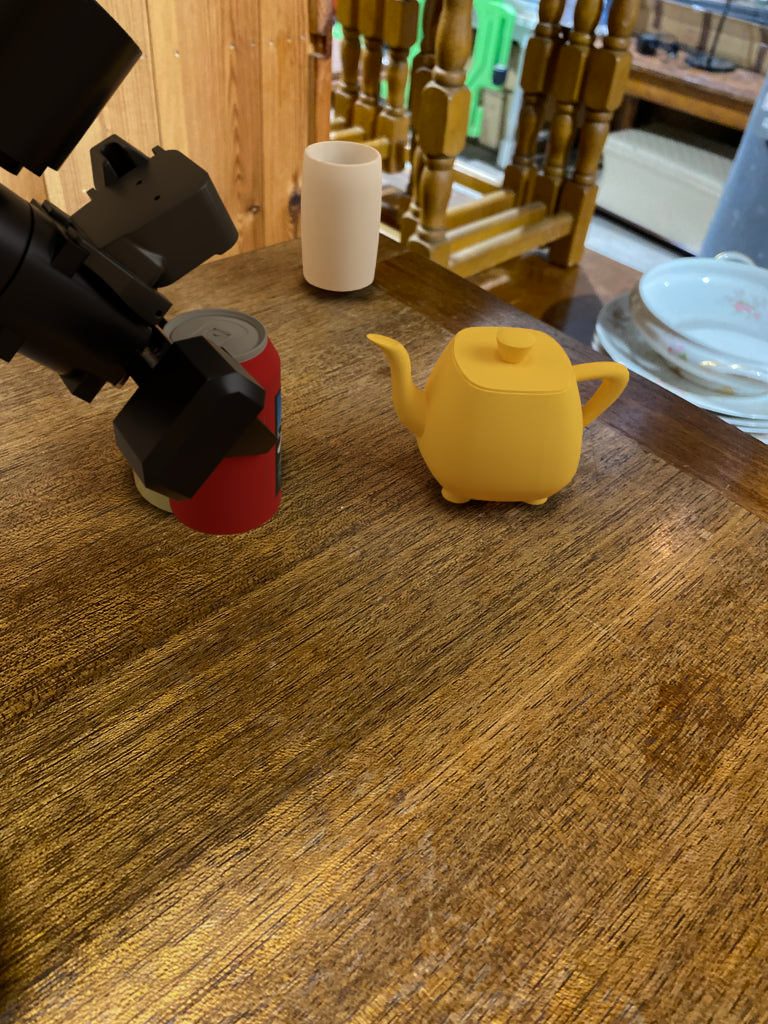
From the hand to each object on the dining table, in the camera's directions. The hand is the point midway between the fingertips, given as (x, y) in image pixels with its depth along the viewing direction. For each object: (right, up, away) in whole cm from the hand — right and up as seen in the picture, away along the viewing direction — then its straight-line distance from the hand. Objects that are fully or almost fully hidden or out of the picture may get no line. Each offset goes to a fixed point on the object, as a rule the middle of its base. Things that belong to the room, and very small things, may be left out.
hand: (242, 412), depth 44 cm
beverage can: (-2, -5, +4) cm, 7 cm away
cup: (+3, +20, +43) cm, 48 cm away
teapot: (+16, -2, +20) cm, 26 cm away
